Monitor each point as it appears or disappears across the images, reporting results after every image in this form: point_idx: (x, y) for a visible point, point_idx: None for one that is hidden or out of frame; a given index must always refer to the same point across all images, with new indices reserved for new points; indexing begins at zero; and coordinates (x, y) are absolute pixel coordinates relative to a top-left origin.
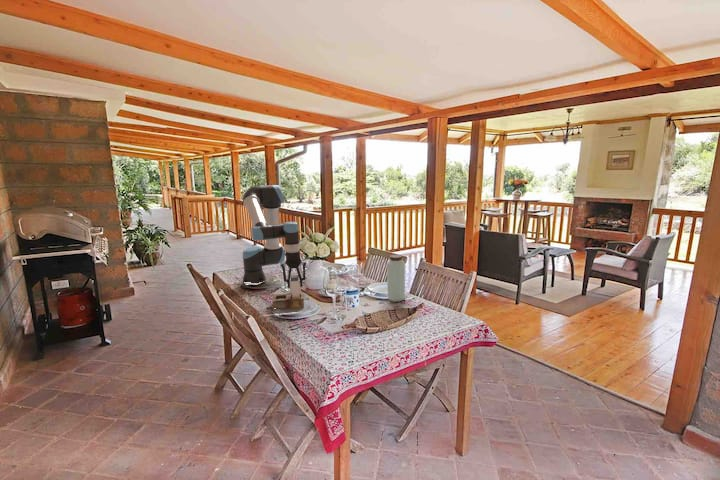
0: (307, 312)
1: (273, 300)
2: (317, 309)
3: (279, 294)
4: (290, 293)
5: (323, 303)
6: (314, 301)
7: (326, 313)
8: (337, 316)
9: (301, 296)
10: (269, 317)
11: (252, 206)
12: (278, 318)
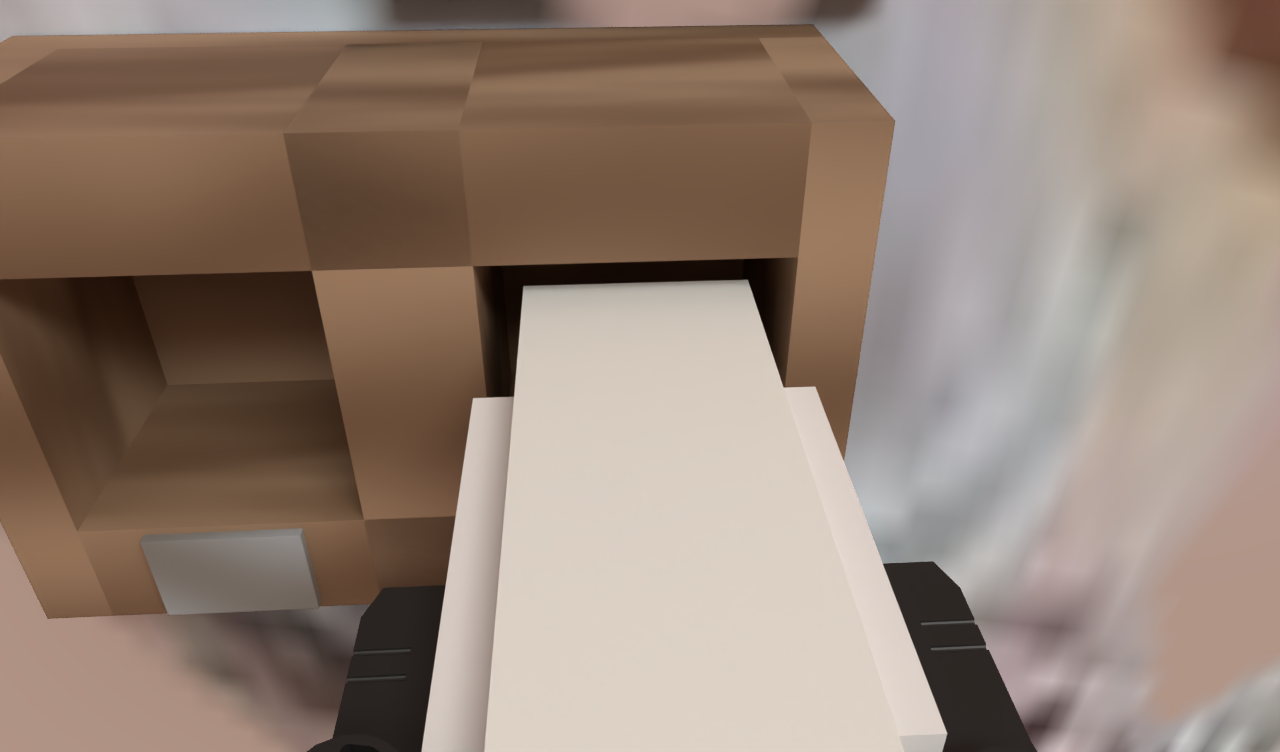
0: None
1: (48, 578)
2: (1021, 460)
3: (38, 176)
4: (437, 159)
5: (1241, 202)
6: (1086, 25)
7: (1113, 610)
8: (1221, 702)
9: None
10: (163, 619)
11: None
12: (338, 663)
